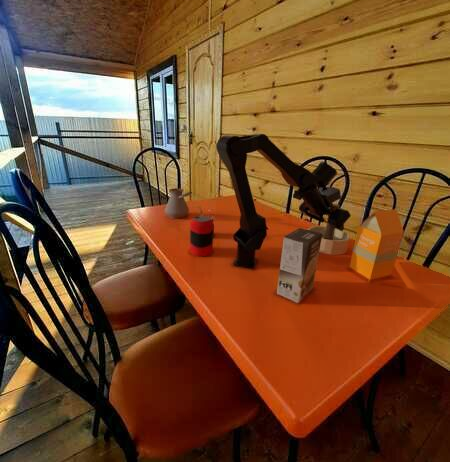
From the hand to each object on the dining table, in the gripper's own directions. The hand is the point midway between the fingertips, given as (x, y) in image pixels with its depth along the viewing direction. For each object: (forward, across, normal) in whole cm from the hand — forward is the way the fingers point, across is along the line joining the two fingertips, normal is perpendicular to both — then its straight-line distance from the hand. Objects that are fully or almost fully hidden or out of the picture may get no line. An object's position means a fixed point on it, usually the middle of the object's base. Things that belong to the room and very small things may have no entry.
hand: (332, 225), depth 91 cm
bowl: (+5, 0, +7) cm, 9 cm away
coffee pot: (-25, +47, +37) cm, 65 cm away
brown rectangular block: (+5, 0, +6) cm, 8 cm away
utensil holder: (-22, +25, +34) cm, 47 cm away
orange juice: (+5, -18, +7) cm, 20 cm away
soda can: (-26, +12, +38) cm, 48 cm away
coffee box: (-14, -18, +27) cm, 35 cm away
